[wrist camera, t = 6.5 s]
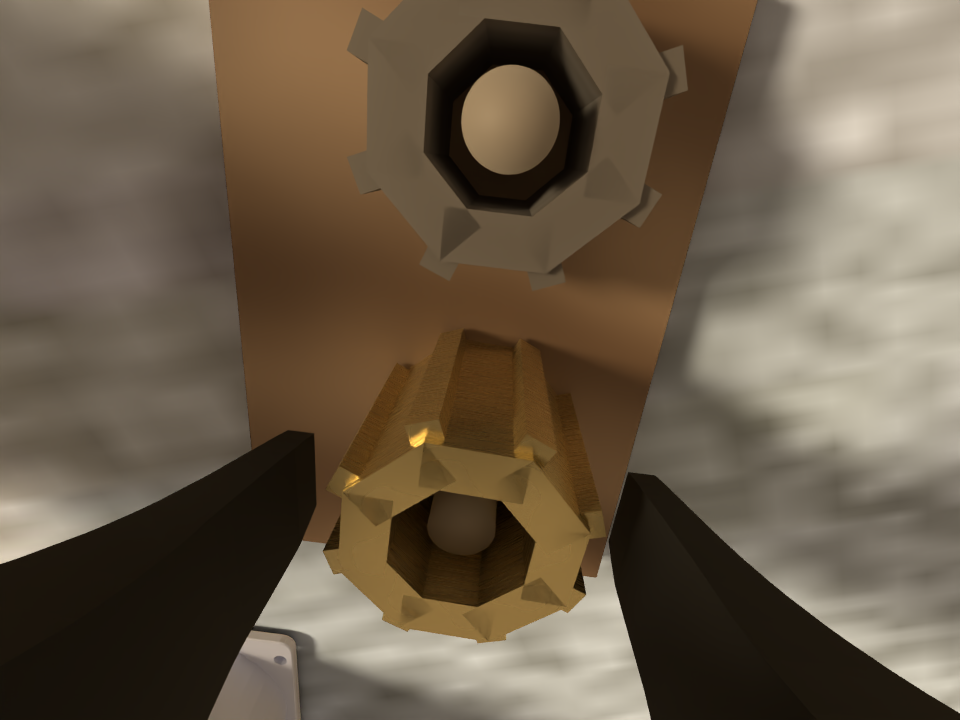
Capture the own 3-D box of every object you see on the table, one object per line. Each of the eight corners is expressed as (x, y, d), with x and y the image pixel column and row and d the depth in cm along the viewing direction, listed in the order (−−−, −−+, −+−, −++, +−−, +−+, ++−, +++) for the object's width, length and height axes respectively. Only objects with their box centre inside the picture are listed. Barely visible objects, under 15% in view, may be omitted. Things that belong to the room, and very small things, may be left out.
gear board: (590, 549, 16) (624, 710, 12) (276, 509, 16) (181, 652, 12) (740, -16, 10) (948, -177, 5) (232, -76, 10) (-12, -283, 5)
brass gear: (589, 347, 12) (638, 459, 8) (546, 503, 14) (565, 666, 10) (394, 313, 12) (324, 406, 8) (378, 474, 14) (316, 626, 10)
